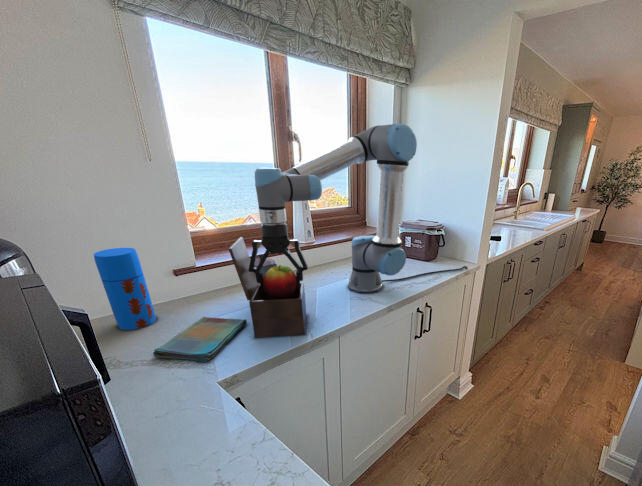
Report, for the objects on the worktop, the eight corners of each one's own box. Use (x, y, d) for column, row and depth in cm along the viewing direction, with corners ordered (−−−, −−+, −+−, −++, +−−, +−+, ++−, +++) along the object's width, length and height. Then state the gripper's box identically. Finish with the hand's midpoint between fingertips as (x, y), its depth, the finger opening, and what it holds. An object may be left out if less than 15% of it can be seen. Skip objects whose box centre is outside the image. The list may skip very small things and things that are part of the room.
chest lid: (242, 236, 104) (239, 237, 104) (231, 248, 91) (228, 248, 91) (258, 283, 111) (256, 283, 111) (250, 300, 98) (247, 300, 98)
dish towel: (151, 358, 92) (149, 350, 91) (201, 320, 113) (200, 314, 112) (209, 362, 91) (207, 355, 90) (248, 323, 112) (247, 317, 111)
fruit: (284, 286, 114) (281, 258, 110) (305, 293, 108) (303, 264, 104) (257, 295, 106) (253, 266, 102) (279, 304, 100) (275, 273, 96)
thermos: (117, 321, 112) (92, 250, 102) (154, 312, 118) (134, 245, 108) (119, 333, 104) (93, 258, 94) (158, 324, 111) (137, 253, 100)
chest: (306, 315, 119) (303, 282, 114) (304, 334, 106) (301, 299, 101) (262, 317, 117) (257, 284, 112) (254, 338, 104) (249, 301, 98)
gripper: (229, 225, 92) (241, 296, 101) (312, 225, 96) (317, 293, 105) (236, 221, 99) (246, 288, 108) (313, 220, 103) (317, 285, 112)
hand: (281, 290), depth 106 cm, fingers closed on fruit, 11 cm apart
